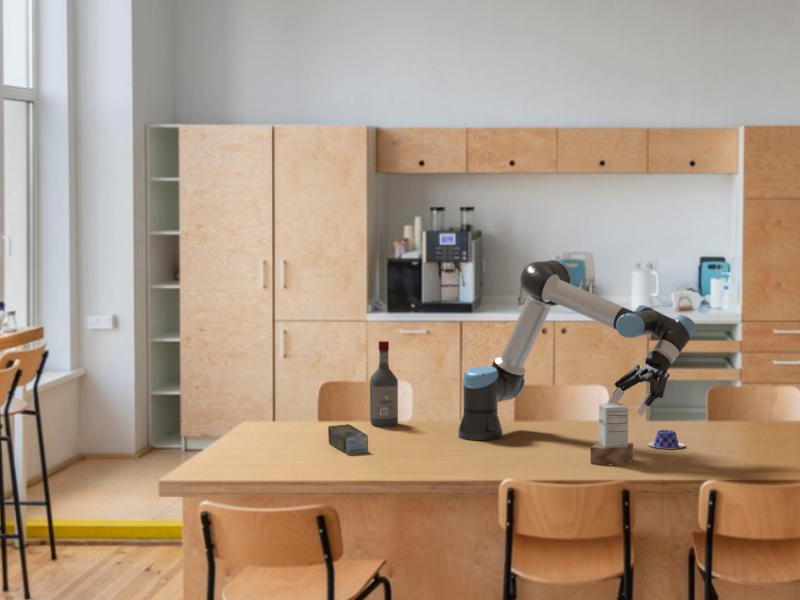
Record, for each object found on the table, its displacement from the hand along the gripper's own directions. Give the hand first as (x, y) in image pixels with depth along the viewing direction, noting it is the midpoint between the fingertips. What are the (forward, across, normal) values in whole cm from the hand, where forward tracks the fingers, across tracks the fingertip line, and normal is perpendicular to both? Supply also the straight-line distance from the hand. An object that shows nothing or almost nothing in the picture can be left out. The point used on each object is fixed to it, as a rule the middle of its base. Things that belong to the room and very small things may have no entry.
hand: (624, 409), depth 381 cm
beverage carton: (+57, +61, +34) cm, 90 cm away
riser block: (+14, +1, -8) cm, 17 cm away
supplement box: (+11, 0, -5) cm, 12 cm away
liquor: (+35, +91, +12) cm, 99 cm away
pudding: (-7, +10, -31) cm, 33 cm away
